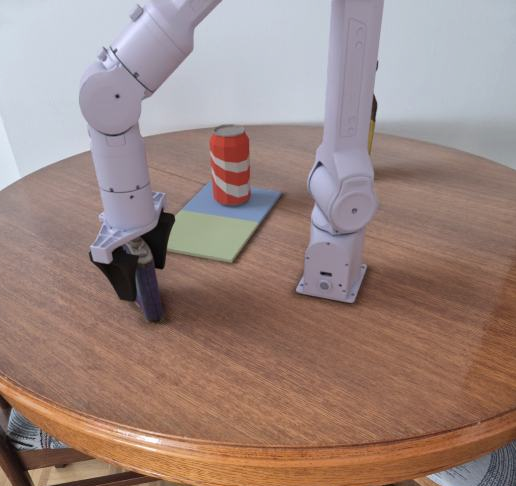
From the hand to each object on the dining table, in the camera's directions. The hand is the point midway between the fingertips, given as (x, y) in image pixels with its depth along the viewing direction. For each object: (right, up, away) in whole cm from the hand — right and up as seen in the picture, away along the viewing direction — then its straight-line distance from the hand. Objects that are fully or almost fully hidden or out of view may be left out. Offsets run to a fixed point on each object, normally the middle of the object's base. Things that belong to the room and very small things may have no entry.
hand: (142, 282), depth 70 cm
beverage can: (+10, +17, +24) cm, 31 cm away
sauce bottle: (+32, +24, +33) cm, 52 cm away
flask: (0, -3, +2) cm, 4 cm away
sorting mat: (+8, +13, +20) cm, 25 cm away
